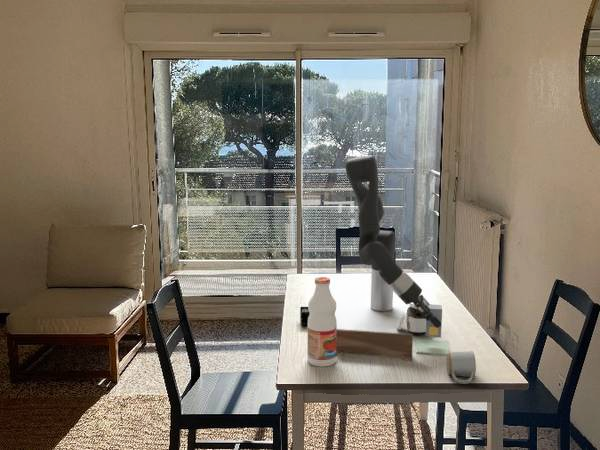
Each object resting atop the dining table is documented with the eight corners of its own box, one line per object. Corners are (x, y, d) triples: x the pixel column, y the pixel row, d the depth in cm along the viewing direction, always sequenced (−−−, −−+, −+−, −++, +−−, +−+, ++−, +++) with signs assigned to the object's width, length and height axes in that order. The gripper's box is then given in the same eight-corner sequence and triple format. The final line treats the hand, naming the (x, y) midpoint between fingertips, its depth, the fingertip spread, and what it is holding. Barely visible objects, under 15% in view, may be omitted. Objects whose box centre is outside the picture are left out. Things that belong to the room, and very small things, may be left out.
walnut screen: (335, 348, 201) (335, 326, 199) (412, 354, 196) (412, 332, 194) (333, 354, 196) (333, 331, 194) (411, 360, 191) (412, 337, 190)
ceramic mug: (444, 369, 184) (446, 346, 183) (471, 370, 183) (472, 347, 182) (450, 384, 174) (451, 360, 172) (478, 385, 173) (479, 361, 172)
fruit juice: (313, 354, 196) (313, 273, 191) (339, 358, 193) (341, 276, 188) (303, 364, 188) (303, 280, 183) (330, 369, 184) (331, 283, 179)
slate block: (425, 331, 204) (426, 304, 202) (440, 332, 203) (441, 305, 201) (425, 336, 199) (427, 308, 197) (440, 337, 198) (442, 309, 196)
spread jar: (432, 336, 213) (434, 306, 211) (403, 338, 211) (404, 307, 209) (420, 325, 224) (422, 296, 222) (392, 327, 222) (393, 297, 220)
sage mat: (416, 340, 208) (416, 338, 208) (448, 342, 206) (448, 341, 206) (416, 353, 197) (416, 351, 197) (449, 355, 195) (450, 354, 195)
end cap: (325, 321, 229) (326, 304, 228) (325, 327, 222) (326, 310, 221) (300, 321, 229) (300, 304, 228) (299, 327, 222) (299, 310, 221)
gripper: (413, 286, 192) (448, 323, 192) (413, 275, 206) (446, 310, 206) (396, 300, 194) (431, 337, 194) (397, 289, 208) (430, 323, 207)
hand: (439, 323), depth 200 cm, fingers closed on slate block, 5 cm apart
